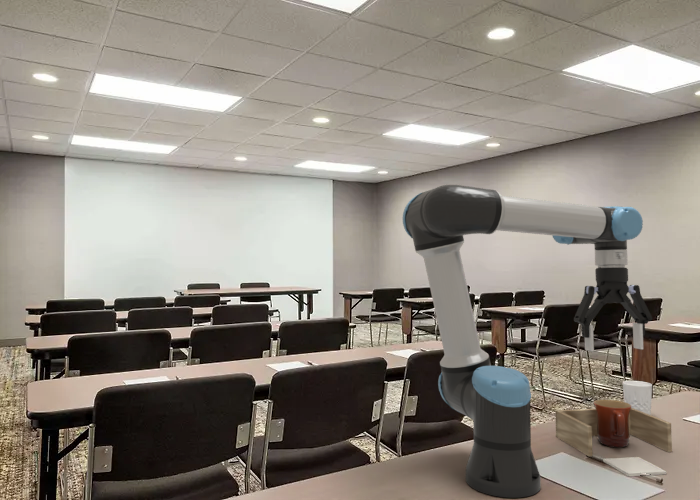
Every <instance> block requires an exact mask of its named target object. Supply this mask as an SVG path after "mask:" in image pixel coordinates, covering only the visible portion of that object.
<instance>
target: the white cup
mask: <svg viewBox="0 0 700 500" xmlns="http://www.w3.org/2000/svg"><path fill="white" fill-rule="evenodd" d="M622 391H623V402H625V403H628V404H630V405H631V406H632V407H631V408H634V409H636V410H639V411H641V412H644V413H646V414H649V415H652V414H651V412H652V411H651V410H652V401H653V400H652V399H653V398H652V395H653V384H652V383H650V382H646V381H641V380H640V381H639V380H623V381H622Z"/></svg>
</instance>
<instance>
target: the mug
mask: <svg viewBox="0 0 700 500" xmlns="http://www.w3.org/2000/svg"><path fill="white" fill-rule="evenodd" d="M593 406H594V409H596V412H597V435H598V436H597V440H598V442H599V443H600V444H602V445H603V446H606V447H611V448H615V449H616V448H617V449H618V448H621V449H622V448H625V447H627V446H628V445H629V441H630V434H629V421H628V419H629V413H630V410H631V407H632V406H631V405H630V404H628V403H625V402H624V401H621V400H614V399H597V400H594V401H593Z"/></svg>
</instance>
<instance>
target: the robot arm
mask: <svg viewBox="0 0 700 500" xmlns="http://www.w3.org/2000/svg"><path fill="white" fill-rule="evenodd" d="M643 222H644V221H643V217H642V215H641V213H640V212H639V210H638V209H636V208H634V207H632V206H618V205H617V206H616V205H615V206H612V205H611V206H595V205H586V204H576V203H570V202H569V203H567V202H560V201H551V200H545V199H544V200H543V199H533V198H524V197H517V196H510V195H509V196H508V195H507V196H506V195H502V194H501V193H500V192H499V191H498V190H495V189H488V188H483V187H482V188H481V187H474V186H468V185H462V184H461V185H460V184H444V185H440V186H437V187H435V188H432V189H429V190H425V191H424V192H423V191H422V192H420V193H418V194H417V195H415V196H414V197H412V198H411V199H410V200H409V201H408V203H407V204H406V206H405V207H404V210H403V214H402V226H403V228H404V230H405V231H404V232H406V234H407V235H408V236H409V237H410V238H411V239H412V240H413V245H414V249H415V250H414V251H415V253H416V254H419V256H421V257H422V259H423V261H424V266H425V269H426V270H425V271H426V274H427V279H428V284H429V289H430V294H431V298H432V302H433V307H434V312H435V317H436V321H437V327H438V330H439V331H438V332H439V335H440V338H441V339H440V340H441V345H442V350H443V354H444V355H443V357H442V358H441V360H440V361H439V366H440V371H441V373H440V374H439V376H438V381H437V385H438V391H439V393H440V396H441V399H442V400H443V401H444V402H445V403H446V404H447V405H448V406H449V407H450V408H451V409H452V410H453V411H456V413H457V412H458V413H459V414H462V415H463V416H466V417H467V418H469V419H471V420H473V426H472V427H473V444H472V448H471V451H470V454H469V457H468V461H467V463H466V467H465V482H466V483H467V485H468V486H469V487H471V488H472V489H474V490H476V491H477V492H480V493H483V494H486V495H489V496H494V497H500V498H510V499H511V498H512V499H514V498H525V497H526V498H527V497H531V496H533V495H536V494H537V493H538V492H540V490H541V485H542V484H541V475H540V470H539V468H538V465H537V462H536V460H535V459H536V458H535V456H534V453H533V451H532V450H533V449H532V443H531V442H532V439H531V438H532V436H531V435H532V434H531V433H532V432H531V430H532V428H531V427H532V426H531V425H532V423H531V399H532V393H531V386H530V380H529V378H528V377H527V376H526V375H525V374H524V373H523V372H522V371H519V370H517V369H514V368H511V367H505V366H499V365H492V364H491V359H490V355H489V353H487V352H486V351H485V350H484V349H482V348H481V344H480V341H479V335H478V330H477V325H476V322H475V316H474V313H473V306H472V303H471V297H470V293H469V288H468V284H467V279H466V276H465V270H464V265H463V261H462V256H461V252H460V250H461V248H462V246H463V245H464V243H465V240H464V239H465V238H464V236H465V235H475V234H477V235H478V234H481V235H482V234H483V235H492V234H494V233H496V231H498V232H499V231H500V232H509V233H510V232H511V233H523V234H535V235H546V236H552V238H553V240H554V241H555V242H556V243H557V244H559V245H560V244H561V245H563V244H564V245H567V246H568V245H586V244H587V245H591V244H592V245H594V265H595V266H596V269H595V281H596V286H595V285H594V286H593V285H586V286H584V293H583V296H582V298H581V301H580V304H579V306H578V308H577V310H576V312H575V315H574V317H573V321H574V322H575V323H578V324H580V326H581V337H583V338H584V350H585V351H589V352H595V346H594V345H595V342H594V324H593V325H592V324H591V323H592V322H593V321H594V319H595V318H596V317H597V315H598V314H599V313H600V310H601V309H602V308H603V307H604V306H605V305H607V304H620V305H622V306H623V308H624V309H625V310H626V311H627V312H628V313H629V315H630V316H631V317H632V319H633V320H634V321H635V322H632V334H633V335H632V336H633V337H632V339H633V340H632V341H633V349H637V350H644V336H645V335H646V324H649V322H650V321H652V320H653V316H652V314H651V312H650V311H649V308H648V306H647V304H646V303H645V300H644V298H643V297H642V294H641V289H640V288H641V287H640V286H639V284H638V285H637V284H630V285H628V282H629V269H628V267H626V266H627V265H628V263H629V262H628V240H633V239H636V238H637V237H638V236H639V235H640V234H641V232H642V230H643V225H644V224H643ZM596 294H597V296H596V297H595V299H594V296H595V295H596ZM627 294H629V296H630V298H631V299H632V301H631V299H630V298H629V296H628V295H627ZM593 299H594V300H593ZM592 302H593V303H592ZM632 302H633V303H632ZM591 304H592V305H591Z"/></svg>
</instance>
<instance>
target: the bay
mask: <svg viewBox="0 0 700 500" xmlns="http://www.w3.org/2000/svg"><path fill="white" fill-rule="evenodd" d="M628 421H629V435H631V436H633V437H635V438H637V439H639V440H642V441H644V442H645V443H648V444H650V445H653V446H655V447H656V448H659V449H660V450H663V451H665V452H667V453H673V443H672V441H673V440H672V422H669V421H666V420H664V419H661V418H659V417H657V416H653V415H652V414H651V415H649V414H646V413H644V412H641V411H639V410H636V409H634V408H631V410H630V413H629V419H628ZM555 437H556V438H558V439H559V440H561V441H562V442H564V443H565V444H567V445H569V446H571V448H574V449H576V451H579V452H581V453H582V454H584V455H585V456H587V457H593V437H598V435H597V412H596V409H595V408H585V409H584V408H583V409H582V408H581V409H560V410H559V409H558V410H557V409H556V410H555Z"/></svg>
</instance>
